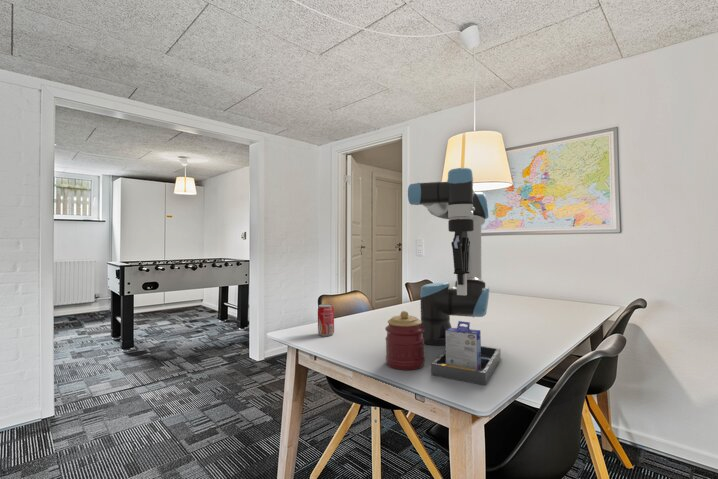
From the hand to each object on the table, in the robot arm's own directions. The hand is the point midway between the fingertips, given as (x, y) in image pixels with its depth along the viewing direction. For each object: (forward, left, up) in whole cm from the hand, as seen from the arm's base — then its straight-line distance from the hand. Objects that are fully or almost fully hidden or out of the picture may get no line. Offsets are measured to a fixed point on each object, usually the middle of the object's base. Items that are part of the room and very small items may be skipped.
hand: (461, 294), depth 111 cm
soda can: (-64, +16, -24) cm, 70 cm away
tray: (0, +6, -24) cm, 25 cm away
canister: (-19, -1, -24) cm, 31 cm away
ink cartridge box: (0, 0, -23) cm, 23 cm away
